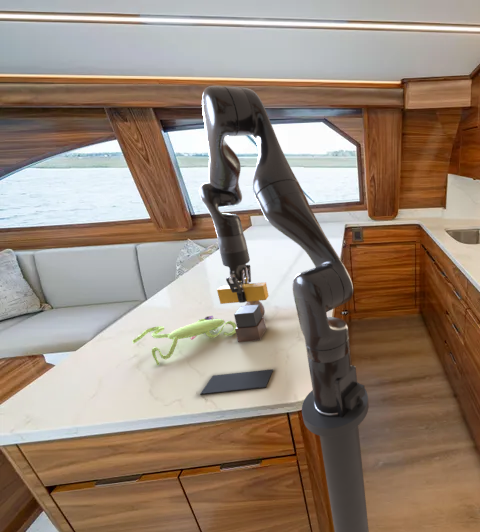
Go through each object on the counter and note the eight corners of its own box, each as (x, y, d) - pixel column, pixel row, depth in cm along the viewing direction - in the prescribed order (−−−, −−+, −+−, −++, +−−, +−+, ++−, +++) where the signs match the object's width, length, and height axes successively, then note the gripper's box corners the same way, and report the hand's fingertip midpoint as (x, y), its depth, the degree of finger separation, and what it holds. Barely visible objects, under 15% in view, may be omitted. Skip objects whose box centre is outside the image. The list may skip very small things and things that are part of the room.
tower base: (266, 329, 105) (263, 316, 104) (260, 340, 99) (257, 326, 97) (245, 331, 105) (242, 318, 103) (238, 342, 98) (234, 328, 96)
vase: (241, 322, 110) (236, 301, 108) (255, 314, 117) (251, 293, 114) (256, 325, 108) (252, 303, 105) (269, 316, 114) (265, 295, 112)
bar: (268, 296, 100) (266, 282, 98) (265, 300, 97) (263, 285, 95) (224, 299, 98) (221, 285, 96) (220, 303, 95) (216, 289, 93)
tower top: (261, 317, 103) (259, 304, 102) (256, 326, 98) (253, 312, 96) (243, 319, 103) (240, 306, 101) (237, 327, 97) (233, 314, 95)
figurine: (134, 347, 97) (128, 332, 95) (223, 316, 115) (219, 303, 113) (144, 371, 85) (138, 355, 83) (241, 332, 103) (238, 318, 102)
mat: (273, 370, 84) (273, 369, 84) (265, 387, 77) (265, 386, 77) (213, 376, 82) (212, 375, 82) (200, 395, 75) (200, 393, 75)
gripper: (237, 254, 85) (249, 308, 91) (254, 242, 99) (263, 290, 104) (210, 256, 85) (223, 310, 90) (230, 244, 98) (241, 292, 103)
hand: (245, 299), depth 97 cm, fingers closed on bar, 3 cm apart
